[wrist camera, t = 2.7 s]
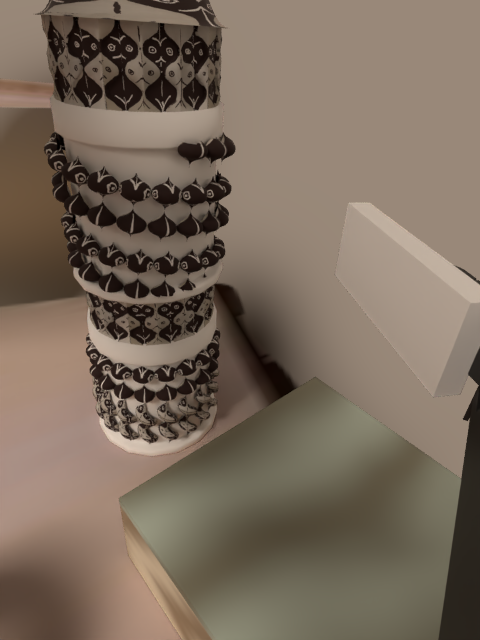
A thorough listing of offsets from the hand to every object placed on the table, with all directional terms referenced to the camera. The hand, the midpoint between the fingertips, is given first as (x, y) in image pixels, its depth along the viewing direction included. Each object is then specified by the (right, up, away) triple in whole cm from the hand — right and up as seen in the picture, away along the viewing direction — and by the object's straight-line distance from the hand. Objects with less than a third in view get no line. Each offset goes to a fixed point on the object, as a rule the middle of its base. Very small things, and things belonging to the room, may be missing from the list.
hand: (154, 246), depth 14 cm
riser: (+6, -16, +9) cm, 19 cm away
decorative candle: (-3, -9, +18) cm, 20 cm away
